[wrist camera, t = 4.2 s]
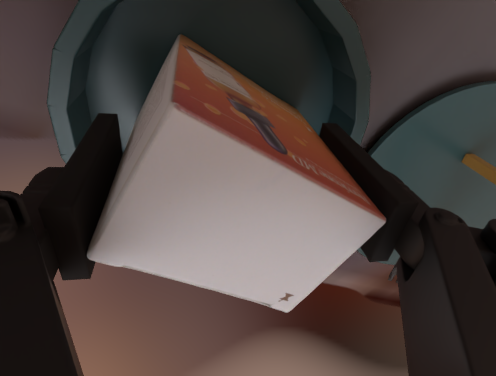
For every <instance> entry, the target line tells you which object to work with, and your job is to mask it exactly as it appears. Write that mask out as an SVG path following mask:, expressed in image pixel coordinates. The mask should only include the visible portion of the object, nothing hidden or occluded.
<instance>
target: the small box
mask: <svg viewBox="0 0 496 376" xmlns="http://www.w3.org/2000/svg"><path fill="white" fill-rule="evenodd" d="M385 223H386V217H385V216H384V215H383V214H382V213H381V212H380V210H379V209H378V208H377V207H376V206H375V204H374V203H373V202H372V201H371V199H370V198H369V197H368V196H367V195H366V193H365V192H364V191H363V190H362V189H361V187H360V186H359V185H358V184H357V182H356V181H355V180H354V179H353V177H352V176H351V175H350V174H349V173H348V171H347V170H346V169H345V168H344V166H343V165H342V164H341V163H340V161H339V160H338V159H337V158H336V156H335V155H334V154H333V153H332V151H331V150H330V149H329V148H328V147H327V145H326V144H325V143H324V142H323V141H322V139H321V138H320V137H319V136H318V134H317V133H316V132H315V131H314V129H313V128H312V127H311V126H310V125H309V123H308V122H307V121H306V120H305V119H304V117H303V116H302V115H301V114H300V112H299V111H298V110H297V109H296V108H294V107H292V106H291V105H289V104H287V103H286V102H284V101H282V100H281V99H279V98H277V97H276V96H274V95H273V94H271V93H270V92H268V91H266V90H265V89H263V88H262V87H260V86H259V85H257V84H256V83H254V82H253V81H251V80H250V79H248V78H247V77H245V76H244V75H243V74H241V73H240V72H238V71H237V70H235V69H234V68H232V67H231V66H229V65H228V64H226V63H225V62H223V61H222V60H220V59H219V58H217V57H216V56H214V55H213V54H211V53H210V52H208V51H207V50H205V49H204V48H202V47H201V46H199V45H198V44H196V43H195V42H193V41H192V40H190V39H189V38H187V37H186V36H184V35H182V34H179V35H178V37H177V39H176V41H175V42H174V44H173V46H172V48H171V50H170V52H169V54H168V56H167V58H166V60H165V62H164V64H163V65H162V67H161V69H160V71H159V73H158V75H157V78H156V80H155V82H154V84H153V86H152V88H151V90H150V92H149V94H148V96H147V98H146V100H145V102H144V104H143V106H142V108H141V111H140V113H139V115H138V117H137V119H136V121H135V124H134V126H133V129H132V132H131V134H130V137H129V140H128V143H127V145H126V148H125V150H124V153H123V156H122V158H121V161H120V164H119V167H118V169H117V172H116V175H115V178H114V181H113V183H112V186H111V189H110V191H109V194H108V197H107V200H106V202H105V205H104V208H103V210H102V213H101V216H100V218H99V221H98V224H97V227H96V229H95V232H94V234H93V237H92V239H91V242H90V244H89V247H88V251H87V257H88V259H90V260H92V261H95V262H99V263H104V264H108V265H112V266H116V267H126V268H130V269H135V270H139V271H142V272H146V273H150V274H153V275H158V276H161V277H165V278H169V279H173V280H177V281H180V282H184V283H188V284H191V285H195V286H198V287H202V288H206V289H210V290H214V291H217V292H221V293H224V294H228V295H232V296H235V297H239V298H242V299H246V300H250V301H253V302H256V303H260V304H263V305H267V306H269V307H271V308H274V309H277V310H280V311H283V312H285V313H287V312H289V311H291V310H292V309H293V308H294V307H295V306H296V305H297V304H298V303H300V302H301V301H302V300H303V299H304V298H305V297H306V296H307V295H309V293H311V292H312V291H313V290H314V289H315V288H316V287H317V286H318V285H319V284H320V283H322V282H323V281H324V280H325V279H326V278H327V277H328V276H329V275H330V274H331V273H332V272H334V271H335V270H336V269H337V268H338V267H339V266H340V265H341V264H342V263H343V262H344V261H345V260H346V259H348V258H349V257H350V256H351V255H352V254H353V253H354V252H355V251H356V250H357V249H358V248H360V247H361V246H362V245H363V244H364V243H365V242H366V241H367V240H368V239H369V238H370V237H371V236H372V235H373V234H374V233H375V232H376V231H377V230H378V229H380V228H381V227H382V226H383V225H384V224H385Z"/></svg>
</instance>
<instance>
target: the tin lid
mask: <svg viewBox="0 0 496 376" xmlns="http://www.w3.org/2000/svg"><path fill="white" fill-rule="evenodd" d="M368 154H369V155H370V156H371V157H372V158H373V159H374V160H375V161H376V162H377V163H378V164H379V165H380V166H381V167H382V168H383V169H385V170H387V171H389V172H391V173H392V174H394V175H396V176H397V177H398V178H399V179H400V180H402V181H403V182H404V184H406V185H407V186H408V187H409V188H410V190H412V191H413V192H414V193H415V194H416V195H418V196H419V197H420V198H421V199H422V200H423V201H424V202H425V203H426V204H427V205H428V206H429V207H430V208H434V207H435V208H441V209H445V210H448V211H450V212H452V213H454V214H456V215H458V216H459V217H460V218H462V219H463V220H464V221H465V223H466V224H467V225H468V226H469V227H475V228H480V229H484V227H485V226H486V225H487V223H488V222H489V221H490V220H492V219H496V81H487V82H480V83H474V84H470V85H467V86H463V87H459V88H456V89H454V90H451V91H449V92H446V93H444V94H441V95H439V96H437V97H435V98H434V99H432V100H430V101H428V102H426V103H424V104H423V105H421V106H419V107H418V108H416V109H415V110H413V111H412V112H410V113H409V114H407V115H406V116H405V117H404V118H402V119H401V120H400V121H398V122H397V123H396V124H395V125H393V126H392V127H391V128H390V129H389V130H388V131H387V132H386V133H385V134H384V135H383V136H382V137H381V138H380V139H379V140H378V141H377V142H376V144H375V145H374V146H373V147H372V148H371V149H370V150H369V152H368ZM357 251H358V252H359V253H361V254H362V255H363V256H365V257H366V255H365V254H364V252H363V251H362V249H361V248H358V249H357ZM399 257H400V255H399V254H398V253H397V252H396V250H395V249H394V250H393V252H392V254H391V256H390V258H389V260H388V261H377V262H380V263H384V264H392V265H395V264H396V263H397V261H398V259H399Z"/></svg>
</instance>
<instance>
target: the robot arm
mask: <svg viewBox="0 0 496 376" xmlns="http://www.w3.org/2000/svg"><path fill="white" fill-rule="evenodd" d="M319 137H320V138H321V139H322V141H323V142H324V143H325V144H326V145H327V147H328V148H329V149H330V150H331V151H332V153H333V154H334V155H335V156H336V158H337V159H338V160H339V161H340V163H341V164H342V165H343V166H344V168H345V169H346V170H347V171H348V173H349V174H350V175H351V176H352V177H353V179H354V180H355V181H356V182H357V184H358V185H359V186H360V187H361V189H362V190H363V191H364V192H365V193H366V195H367V196H368V197H369V198H370V199H371V201H372V202H373V203H374V204H375V206H376V207H377V208H378V209H379V210H380V212H381V213H382V214H383V215H384V216H385V217H386V223H385V224H384V225H383V226H382V227H381V228H380V229H378V230H377V231H376V232H375V233H374V234H373V235H372V236H371V237H370V238H369V239H368V240H367V241H366V242H365V243H364V244H363V245H362V246H361V247H360V248H361V249H362V251H363V252H364V254H365V255H366V257H367V258H368V260H369V262H377V261H388V260H389V258H390V256H391V254H392V252H393V250H394V249H395V250H396V252H397V253H398V254H399V255H400V257H399V259H398V261H397V263H396V264H395V266H394V268H393V270H392V272H391V273H390V275H389V279H388V280H390V281H392V279H393V277H394V276H395V275H397V280H396V282H397V283H398V287H399V296H400V304H401V313H402V321H403V330H404V338H405V347H406V356H407V364H408V373H409V376H496V219H492V220H490V221H489V222H488V223H487V225H486V226H485V227H484V229H480V228H475V227H469V226H468V225H467V224H466V223H465V221H464V220H463V219H462V218H460V217H459V216H458V215H456V214H454V213H452V212H450V211H448V210H445V209H441V208H435V207H434V208H430V207H429V206H428V205H427V204H426V203H425V202H424V201H423V200H422V199H421V198H420V197H419V196H418V195H416V194H415V193H414V192H413V191H412V190H410V188H409V187H408V186H407V185H406V184H404V182H403V181H402V180H400V179H399V178H398V177H397V176H396V175H394V174H392V173H391V172H389V171H387V170H385V169H383V168H382V167H381V166H380V165H379V164H378V163H377V162H376V161H375V160H374V159H373V158H372V157H371V156H370V155H369V154H368V153H367V152H366V151H365V150H364V149H363V148H362V147H361V146H360V145H359V144H358V143H356V142H355V141H354V140H353V139H352V138H351V137H350V136H349V135H348V134H347V133H346V132H345V131H344V130H343V129H342V128H341V127H340V126H339V125H338V124H337V123H322V127H321V130H320V134H319ZM122 156H123V151H122V143H121V136H120V128H119V121H118V114H111V113H98V115H97V116H96V118H95V119H94V121H93V123H92V124H91V126H90V127H89V129H88V130H87V132H86V134H85V135H84V137H83V138H82V140H81V141H80V143H79V145H78V146H77V148H76V149H75V151H74V152H73V154H72V156H71V157H70V159H69V160H68V162H67V163H66V165H65V167H48V168H46V169H44V170H43V171H41V172H39V173H38V174H37V175H35V176H34V178H33V179H32V180H31V182H30V183H29V186H27V187H26V188H25V189H24V191H23V194H21V195H19V194H17V193H14V192H11V191H0V376H84V375H83V372H82V369H81V365H80V362H79V359H78V356H77V353H76V350H75V347H74V343H73V340H72V337H71V334H70V331H69V328H68V324H67V321H66V318H65V315H64V312H63V309H62V305H61V302H60V299H59V296H58V293H57V290H56V287H55V284H54V281H53V279H54V277H55V275H56V272H57V270H58V268H59V271H60V273H61V276H62V279H63V280H75V279H90V278H91V274H92V271H93V268H94V265H95V261H92V260H90V259H88V257H87V251H88V247H89V244H90V242H91V239H92V237H93V234H94V232H95V229H96V227H97V224H98V221H99V218H100V216H101V213H102V210H103V208H104V205H105V202H106V200H107V197H108V194H109V191H110V189H111V186H112V183H113V181H114V178H115V175H116V172H117V169H118V167H119V164H120V161H121V158H122Z"/></svg>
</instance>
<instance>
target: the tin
mask: <svg viewBox="0 0 496 376" xmlns="http://www.w3.org/2000/svg"><path fill="white" fill-rule="evenodd" d="M179 34H182V35H184V36H186V37H187V38H189V39H190V40H192V41H193V42H195V43H196V44H198V45H199V46H201V47H202V48H204V49H205V50H207V51H208V52H210V53H211V54H213V55H214V56H216V57H217V58H219V59H220V60H222V61H223V62H225V63H226V64H228V65H229V66H231V67H232V68H234V69H235V70H237V71H238V72H240V73H241V74H243V75H244V76H245V77H247V78H248V79H250V80H251V81H253V82H254V83H256V84H257V85H259V86H260V87H262V88H263V89H265V90H266V91H268V92H270V93H271V94H273V95H274V96H276V97H277V98H279V99H281V100H282V101H284V102H286V103H287V104H289V105H291V106H292V107H294V108H296V109H297V110H298V111H299V112H300V114H301V115H302V116H303V117H304V119H305V120H306V121H307V122H308V123H309V125H310V126H311V127H312V128H313V129H314V131H315V132H316V133H317V134H318V136H319V134H320V130H321V127H322V123H337V124H338V125H339V126H340V127H341V128H342V129H343V130H344V131H345V132H346V133H347V134H348V135H349V136H350V137H351V138H352V139H353V140H354V141H355V142H356V143H358V144H359V145H360V144H361V141H362V138H363V135H364V133H365V130H366V127H367V124H368V119H369V103H370V81H371V75H370V74H371V72H370V68H369V65H368V61H367V58H366V54H365V51H364V47H363V44H362V40H361V37H360V33H359V30H358V26H357V24H356V23H355V21H354V20H353V18H352V17H351V16H350V14H349V13H348V12H347V10H346V9H345V8H344V6H343V5H342V4H341V2H340V1H339V0H79V1H78V3H77V5H76V6H75V8H74V10H73V12H72V14H71V16H70V17H69V19H68V21H67V23H66V25H65V26H64V28H63V30H62V32H61V34H60V36H59V37H58V39H57V41H56V43H55V45H54V48H53V50H52V59H51V69H50V78H49V87H48V97H47V105H48V110H49V114H50V118H51V121H52V125H53V129H54V133H55V137H56V140H57V144H58V147H59V152H60V154H61V157H62V159H63V160H64V162H65V163H67V162H68V160H69V159H70V157H71V156H72V154H73V152H74V151H75V149H76V148H77V146H78V145H79V143H80V141H81V140H82V138H83V137H84V135H85V134H86V132H87V130H88V129H89V127H90V126H91V124H92V123H93V121H94V119H95V118H96V116H97V115H98V113H111V114H118V121H119V128H120V136H121V143H122V151H123V153H124V150H125V148H126V145H127V143H128V140H129V137H130V134H131V132H132V129H133V126H134V124H135V121H136V119H137V117H138V115H139V113H140V111H141V108H142V106H143V104H144V102H145V100H146V98H147V96H148V94H149V92H150V90H151V88H152V86H153V84H154V82H155V80H156V78H157V75H158V73H159V71H160V69H161V67H162V65H163V64H164V62H165V60H166V58H167V56H168V54H169V52H170V50H171V48H172V46H173V44H174V42H175V41H176V39H177V37H178V35H179Z"/></svg>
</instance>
